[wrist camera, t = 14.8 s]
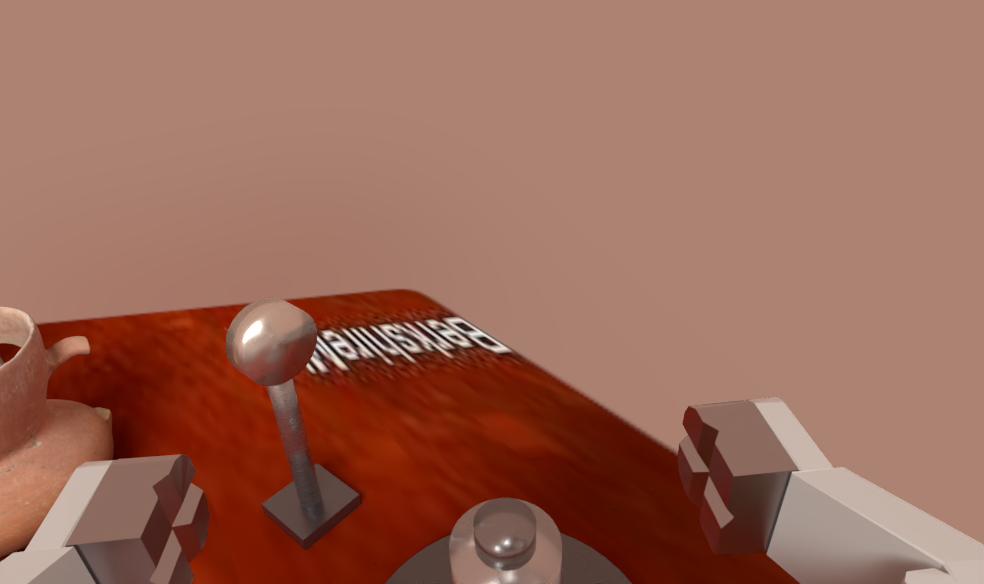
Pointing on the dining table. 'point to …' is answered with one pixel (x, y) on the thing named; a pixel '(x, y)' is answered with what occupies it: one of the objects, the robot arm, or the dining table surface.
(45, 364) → the ceramic jug
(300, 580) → the dining table surface
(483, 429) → the dining table surface
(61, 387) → the dining table surface
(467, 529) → the capped metal canister
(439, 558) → the disc
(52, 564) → the robot arm
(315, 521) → the metal joystick
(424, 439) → the dining table surface
